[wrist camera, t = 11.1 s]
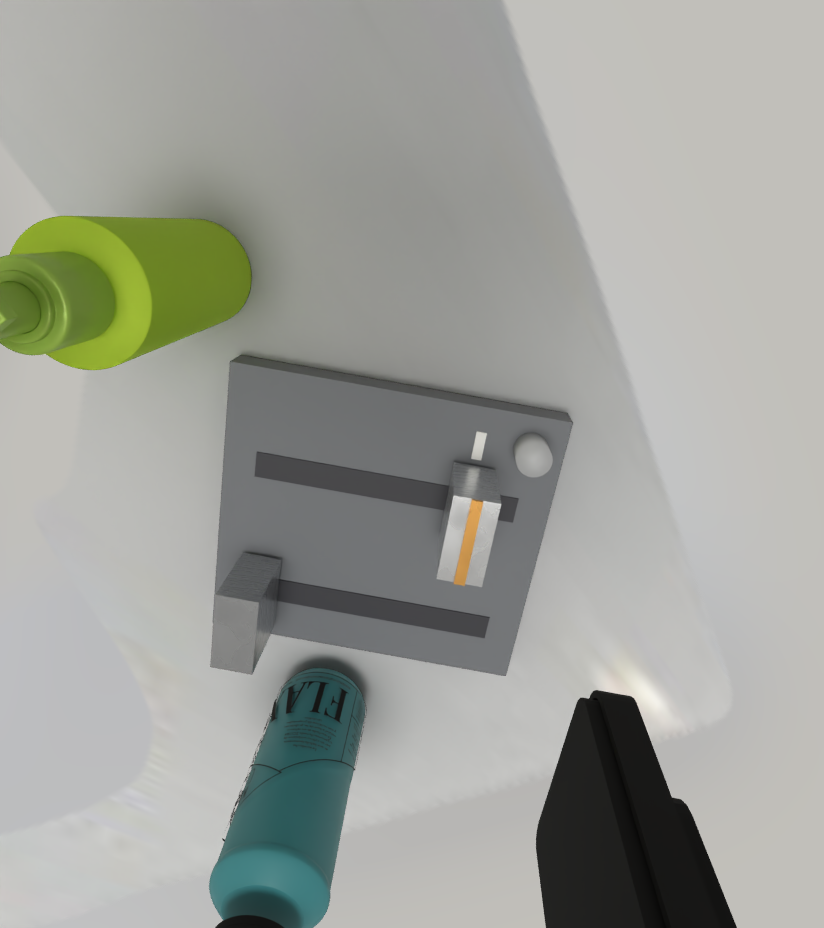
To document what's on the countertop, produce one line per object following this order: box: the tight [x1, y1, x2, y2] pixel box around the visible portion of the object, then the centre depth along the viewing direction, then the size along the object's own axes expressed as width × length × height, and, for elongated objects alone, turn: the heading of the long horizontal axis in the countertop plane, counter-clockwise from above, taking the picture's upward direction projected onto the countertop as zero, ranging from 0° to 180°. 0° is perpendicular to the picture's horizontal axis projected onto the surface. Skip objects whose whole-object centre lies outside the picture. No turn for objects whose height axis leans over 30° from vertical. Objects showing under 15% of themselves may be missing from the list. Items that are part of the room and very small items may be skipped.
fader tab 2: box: [436, 462, 501, 587], centre depth 36 cm, size 5×2×5 cm, turn 171°
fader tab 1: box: [210, 553, 281, 674], centre depth 40 cm, size 5×2×5 cm, turn 171°
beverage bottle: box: [209, 668, 367, 928], centre depth 38 cm, size 6×7×20 cm
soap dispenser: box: [0, 216, 251, 370], centre depth 28 cm, size 6×7×20 cm
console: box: [213, 355, 573, 676], centre depth 40 cm, size 18×20×4 cm
